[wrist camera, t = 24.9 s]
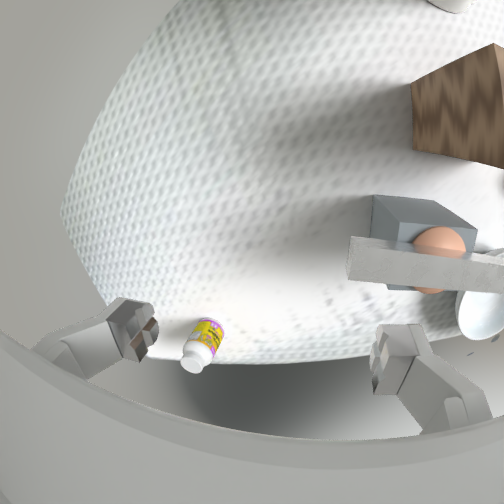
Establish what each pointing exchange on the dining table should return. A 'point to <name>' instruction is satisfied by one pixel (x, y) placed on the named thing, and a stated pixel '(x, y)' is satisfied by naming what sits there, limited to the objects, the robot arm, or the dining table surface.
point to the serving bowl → (480, 310)
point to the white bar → (423, 266)
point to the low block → (420, 228)
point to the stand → (462, 108)
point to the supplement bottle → (202, 345)
